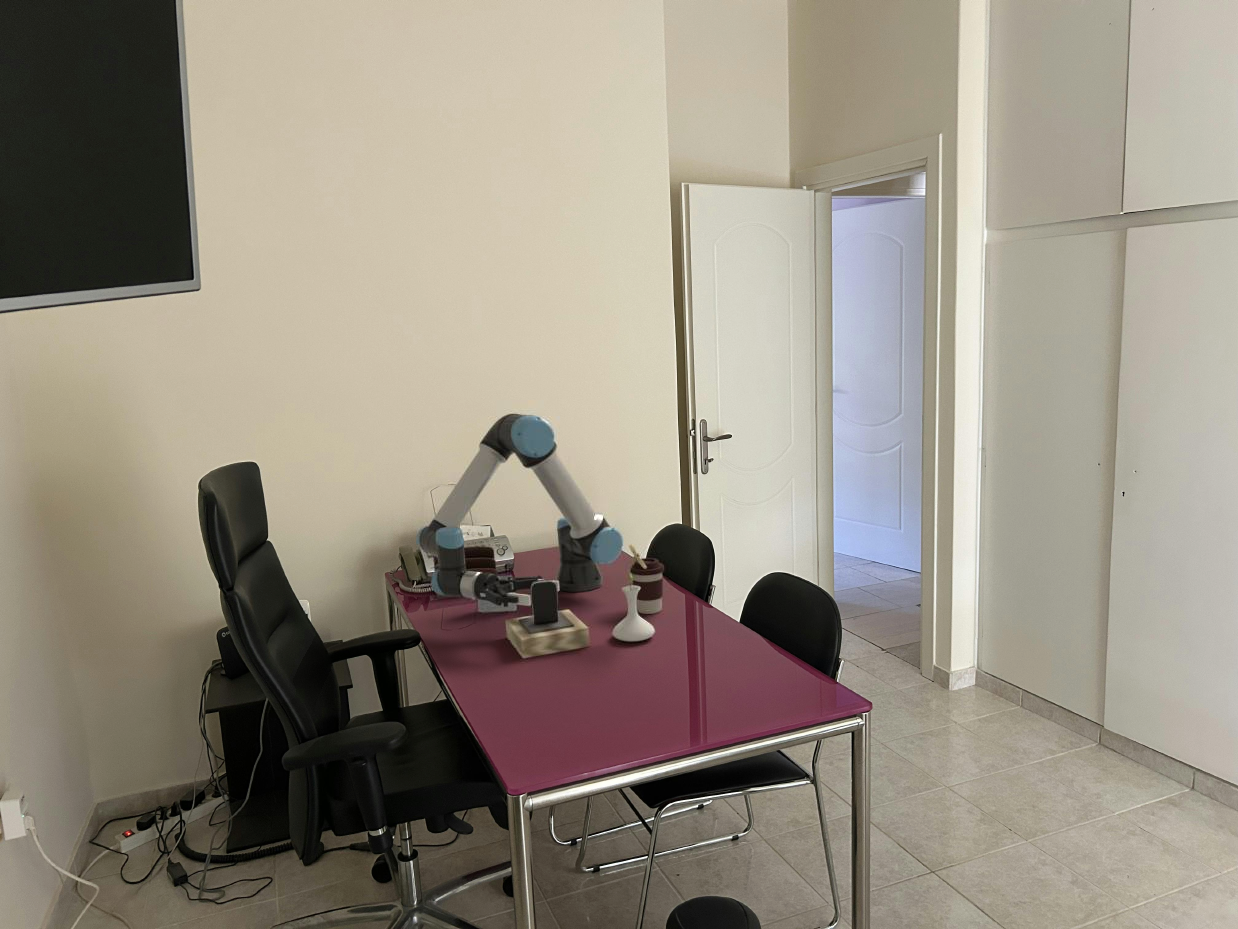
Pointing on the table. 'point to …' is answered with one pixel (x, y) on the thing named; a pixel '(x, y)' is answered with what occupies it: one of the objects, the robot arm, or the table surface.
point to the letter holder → (475, 562)
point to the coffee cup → (648, 585)
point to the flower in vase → (633, 612)
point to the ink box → (490, 607)
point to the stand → (547, 635)
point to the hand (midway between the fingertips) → (544, 593)
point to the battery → (544, 601)
